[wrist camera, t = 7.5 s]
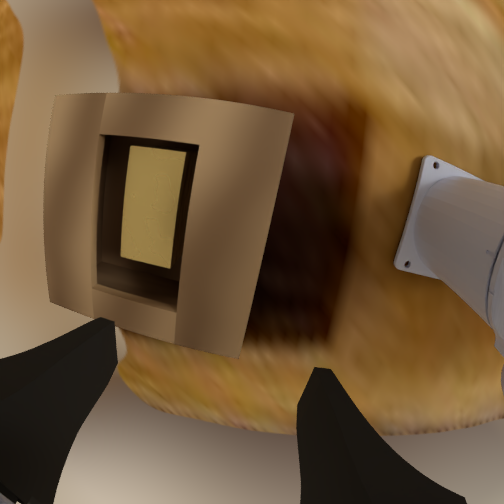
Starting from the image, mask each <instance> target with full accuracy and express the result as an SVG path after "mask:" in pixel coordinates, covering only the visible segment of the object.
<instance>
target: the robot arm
mask: <svg viewBox="0 0 504 504" xmlns="http://www.w3.org/2000/svg"><path fill="white" fill-rule="evenodd" d="M434 162H436V164H437V167H436V168H434V167H433V164H434ZM407 261H409V263H408V265H407V266H404V265H405V262H407ZM394 266H395V267H396V268H397V269H399V270H403V271H407V272H411V273H415V274H419V275H424V276H428V277H432V278H436V279H440V280H442V281H443V282H444V283H445V284H446V285H448V286H449V287H450V288H451V289H452V290H453V291H454V292H455V293H456V294H457V295H458V296H459V297H460V298H462V299H463V300H464V301H465V302H466V303H467V304H468V305H469V306H470V307H471V308H472V309H473V310H474V311H475V312H476V313H477V314H478V315H479V316H480V317H481V318H482V319H483V320H484V321H485V322H486V323H487V324H488V325H489V326H490V327H491V328H492V329H493V330H494V332H495V336H496V340H495V345H494V346H495V348H496V349H497V350H498V351H499V352H500V353H501V355H502V356H503V357H504V186H501V185H497V184H493V183H489V182H485V181H483V180H481V179H479V178H477V177H475V176H474V175H472V174H470V173H468V172H466V171H464V170H462V169H459V168H457V167H455V166H453V165H451V164H449V163H447V162H445V161H442V160H440V159H438V158H436V157H433V156H430V155H426V156H424V157H423V159H422V163H421V168H420V172H419V176H418V181H417V185H416V189H415V193H414V196H413V200H412V204H411V207H410V211H409V214H408V218H407V221H406V225H405V228H404V231H403V234H402V238H401V241H400V244H399V247H398V250H397V253H396V256H395V259H394ZM117 364H118V360H117V350H116V336H115V321H112V320H109V319H106V318H103V317H99V318H97V319H95V320H93V321H90V322H88V323H86V324H84V325H82V326H80V327H78V328H76V329H74V330H72V331H70V332H68V333H66V334H64V335H62V336H60V337H58V338H56V339H54V340H52V341H49V342H47V343H44V344H42V345H40V346H38V347H35V348H33V349H30V350H28V351H25V352H22V353H19V354H16V355H13V356H9V357H6V358H2V359H0V504H16V502H17V501H18V502H19V503H21V504H53V502H54V498H55V493H56V489H57V486H58V483H59V479H60V476H61V473H62V470H63V467H64V464H65V462H66V459H67V456H68V454H69V451H70V449H71V446H72V444H73V442H74V440H75V437H76V435H77V433H78V431H79V429H80V428H81V426H82V424H83V423H84V421H85V419H86V418H87V416H88V415H89V413H90V411H91V410H92V408H93V407H94V405H95V403H96V402H97V401H98V399H99V397H100V396H101V394H102V392H103V391H104V390H105V388H106V386H107V385H108V383H109V381H110V379H111V377H112V375H113V372H114V370H115V368H116V366H117ZM501 386H502V391H503V395H504V365H503V369H502V373H501ZM296 429H297V440H298V451H299V463H300V475H301V500H300V504H467V503H466V500H465V497H463V496H460V495H458V494H456V493H454V492H452V491H450V490H448V489H446V488H444V487H442V486H441V485H439V484H437V483H435V482H434V481H432V480H431V479H429V478H428V477H426V476H425V475H423V474H422V473H420V472H419V471H418V470H416V469H415V468H414V467H413V466H411V465H410V464H409V463H407V462H406V461H405V460H404V459H403V458H402V457H401V456H399V455H398V454H397V453H396V452H395V451H394V450H393V449H392V448H391V447H390V446H389V445H388V444H387V443H386V442H385V441H384V440H383V439H382V438H381V437H380V435H379V434H378V433H377V432H376V431H375V430H374V428H373V427H372V426H371V425H370V424H369V422H368V421H367V420H366V419H365V417H364V416H363V415H362V413H361V412H360V411H359V409H358V408H357V407H356V405H355V404H354V402H353V401H352V400H351V398H350V397H349V395H348V394H347V392H346V391H345V389H344V388H343V386H342V385H341V383H340V382H339V380H338V379H337V377H336V376H335V374H334V373H333V372H332V370H331V369H326V368H318V367H314V369H313V372H312V374H311V376H310V378H309V381H308V383H307V385H306V387H305V389H304V392H303V394H302V396H301V398H300V400H299V402H298V404H297V427H296Z"/></svg>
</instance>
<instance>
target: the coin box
mask: <svg viewBox="0 0 504 504" xmlns="http://www.w3.org/2000/svg"><path fill="white" fill-rule="evenodd" d="M293 117H294V114H293V113H289V112H284V111H279V110H275V109H270V108H264V107H259V106H254V105H248V104H242V103H236V102H229V101H222V100H215V99H207V98H198V97H188V96H177V95H164V94H145V93H84V94H66V95H55V99H54V104H53V110H52V115H51V122H50V129H49V136H48V144H47V154H46V164H45V179H44V245H45V261H46V272H47V281H48V290H49V298H50V302H52V303H54V304H57V305H59V306H62V307H64V308H67V309H69V310H72V311H75V312H77V313H80V314H82V315H85V316H88V317H91V318H93V319H97V318H99V317H103V318H106V319H109V320H112V321H115V326H116V327H120V328H123V329H126V330H129V331H132V332H135V333H138V334H142V335H145V336H148V337H152V338H155V339H159V340H162V341H166V342H169V343H173V344H177V345H181V346H184V347H188V348H192V349H196V350H200V351H204V352H209V353H213V354H217V355H222V356H226V357H231V358H236V359H239V356H240V352H241V347H242V343H243V339H244V335H245V331H246V326H247V322H248V318H249V314H250V309H251V305H252V301H253V296H254V292H255V288H256V284H257V279H258V275H259V271H260V266H261V262H262V258H263V253H264V249H265V244H266V240H267V236H268V231H269V227H270V222H271V218H272V213H273V209H274V204H275V200H276V195H277V191H278V186H279V182H280V177H281V173H282V168H283V164H284V159H285V155H286V150H287V145H288V141H289V136H290V131H291V127H292V122H293ZM131 146H164V147H172V148H179V149H186V150H193V151H198V156H197V162H196V167H195V173H194V179H193V185H192V191H191V198H190V204H189V211H188V218H187V225H186V232H185V240H184V247H183V254H182V256H181V257H180V258H179V259H178V260H177V261H176V263H175V264H174V265H173V266H172V267H171V269H169V268H165V267H161V266H157V265H153V264H149V263H144V262H140V261H136V260H132V259H128V258H124V257H121V235H122V219H123V206H124V195H125V185H126V176H127V168H128V161H129V154H130V147H131Z"/></svg>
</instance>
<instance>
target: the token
mask: <svg viewBox="0 0 504 504" xmlns="http://www.w3.org/2000/svg"><path fill="white" fill-rule="evenodd" d="M197 156H198V151H193V150H186V149H179V148H172V147H164V146H131V147H130V154H129V161H128V168H127V176H126V185H125V195H124V206H123V219H122V235H121V257H124V258H128V259H132V260H136V261H140V262H144V263H149V264H153V265H157V266H161V267H165V268H169V269H171V267H172V266H173V265H174V264H175V263H176V261H177V260H178V259H179V258H180V257H181V256H182V254H183V247H184V240H185V232H186V225H187V218H188V211H189V204H190V198H191V191H192V185H193V179H194V173H195V167H196V162H197Z"/></svg>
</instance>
